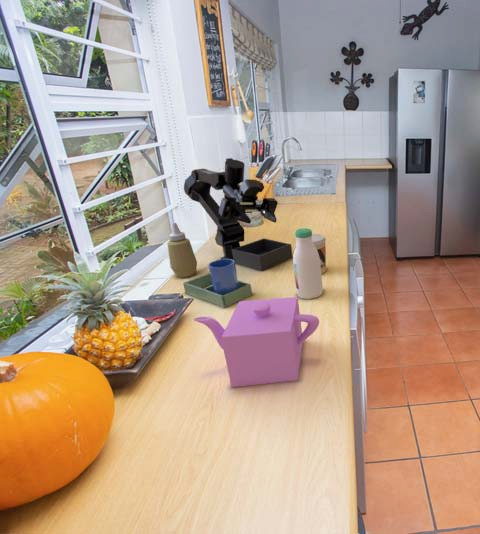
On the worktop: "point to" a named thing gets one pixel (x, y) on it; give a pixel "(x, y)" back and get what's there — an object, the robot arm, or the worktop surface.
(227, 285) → the blue cup
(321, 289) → the milk bottle
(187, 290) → the divided tray
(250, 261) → the black square tray
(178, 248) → the squeeze bottle
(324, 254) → the coffee cup
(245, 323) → the teapot
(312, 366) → the worktop surface
